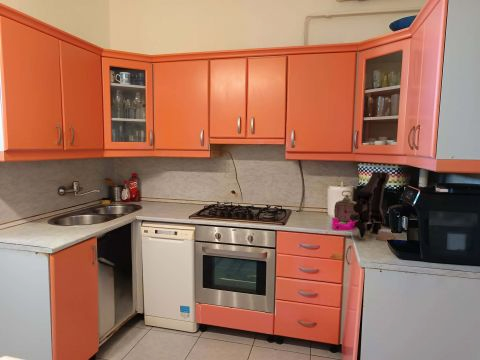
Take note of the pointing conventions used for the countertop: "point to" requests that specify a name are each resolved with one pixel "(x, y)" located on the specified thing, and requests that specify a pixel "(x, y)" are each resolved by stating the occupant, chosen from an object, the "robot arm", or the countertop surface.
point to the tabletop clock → (344, 209)
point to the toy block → (342, 225)
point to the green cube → (365, 235)
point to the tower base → (385, 238)
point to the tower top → (385, 233)
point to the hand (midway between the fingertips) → (364, 236)
